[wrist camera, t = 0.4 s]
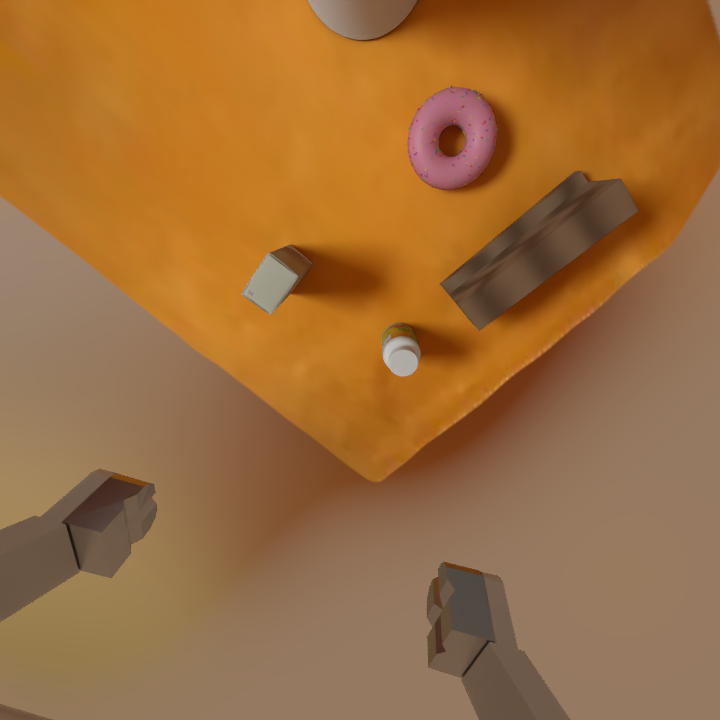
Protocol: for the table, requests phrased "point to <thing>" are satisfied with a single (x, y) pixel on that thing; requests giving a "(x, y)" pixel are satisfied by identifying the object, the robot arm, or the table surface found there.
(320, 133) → the table surface
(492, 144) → the doughnut
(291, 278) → the skincare box
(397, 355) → the supplement bottle
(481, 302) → the beam
